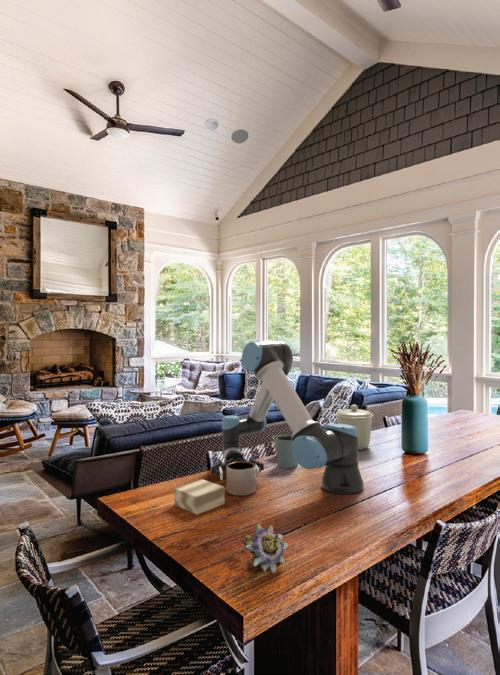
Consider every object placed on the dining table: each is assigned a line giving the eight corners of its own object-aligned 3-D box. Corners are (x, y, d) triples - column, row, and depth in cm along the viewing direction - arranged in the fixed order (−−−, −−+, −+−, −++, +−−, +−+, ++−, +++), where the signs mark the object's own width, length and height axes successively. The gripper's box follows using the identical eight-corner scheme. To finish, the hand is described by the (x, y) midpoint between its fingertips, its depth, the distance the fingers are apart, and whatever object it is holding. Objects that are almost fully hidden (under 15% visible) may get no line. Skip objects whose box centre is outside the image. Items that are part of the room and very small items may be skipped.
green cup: (273, 467, 189) (272, 439, 189) (280, 460, 198) (280, 434, 198) (296, 469, 185) (295, 441, 185) (302, 462, 194) (302, 435, 194)
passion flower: (273, 593, 107) (257, 568, 101) (242, 569, 115) (226, 544, 109) (300, 555, 113) (287, 528, 107) (269, 534, 121) (255, 508, 114)
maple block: (224, 504, 151) (224, 486, 151) (196, 515, 142) (196, 496, 142) (202, 495, 159) (202, 479, 159) (174, 505, 151) (174, 488, 151)
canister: (345, 441, 230) (344, 400, 229) (379, 445, 219) (378, 403, 219) (329, 449, 215) (328, 406, 215) (365, 454, 204) (364, 409, 204)
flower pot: (292, 459, 201) (291, 440, 200) (271, 458, 202) (271, 439, 202) (294, 453, 210) (293, 435, 210) (274, 452, 212) (274, 434, 211)
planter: (260, 487, 165) (259, 462, 165) (250, 498, 155) (250, 470, 155) (233, 484, 169) (232, 459, 169) (222, 495, 158) (221, 468, 158)
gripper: (263, 465, 185) (273, 482, 164) (203, 469, 181) (206, 487, 160) (263, 447, 185) (273, 462, 164) (203, 451, 181) (205, 467, 160)
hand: (240, 475), depth 162 cm, fingers open, 13 cm apart
